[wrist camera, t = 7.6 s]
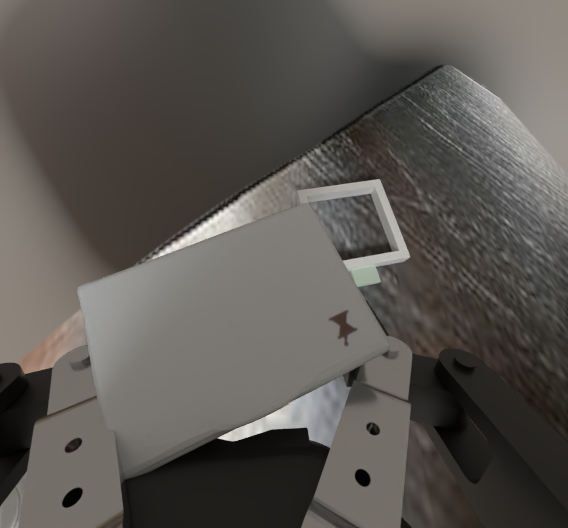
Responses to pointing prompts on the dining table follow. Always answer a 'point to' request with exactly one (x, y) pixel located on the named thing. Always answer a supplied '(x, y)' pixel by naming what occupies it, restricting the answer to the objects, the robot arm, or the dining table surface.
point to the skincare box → (222, 335)
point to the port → (366, 266)
